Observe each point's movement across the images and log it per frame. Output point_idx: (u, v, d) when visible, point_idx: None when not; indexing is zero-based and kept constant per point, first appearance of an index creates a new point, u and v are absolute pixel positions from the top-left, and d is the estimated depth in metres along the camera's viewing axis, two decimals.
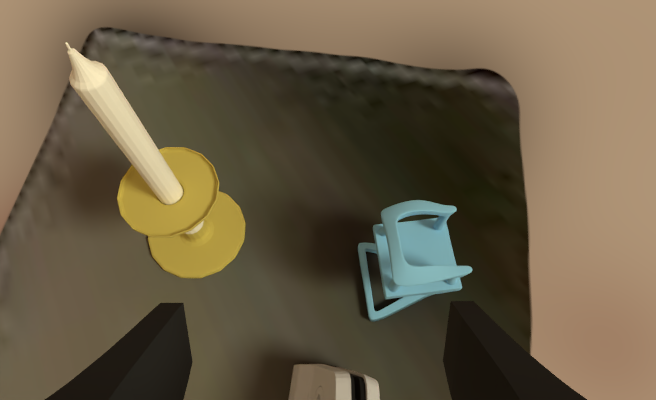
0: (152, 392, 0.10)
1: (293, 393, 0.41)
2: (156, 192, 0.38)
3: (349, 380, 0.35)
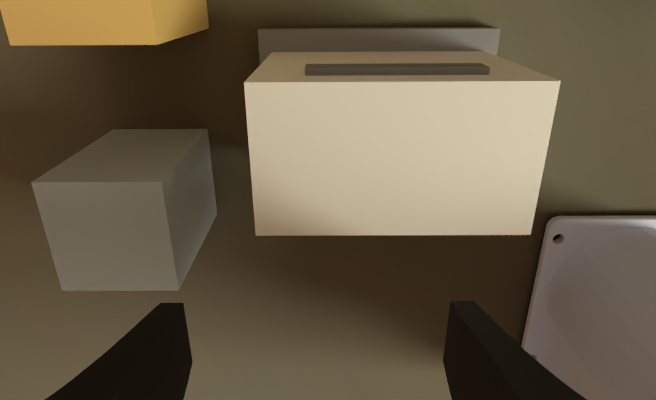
0: (152, 393, 0.10)
1: None
2: None
3: None
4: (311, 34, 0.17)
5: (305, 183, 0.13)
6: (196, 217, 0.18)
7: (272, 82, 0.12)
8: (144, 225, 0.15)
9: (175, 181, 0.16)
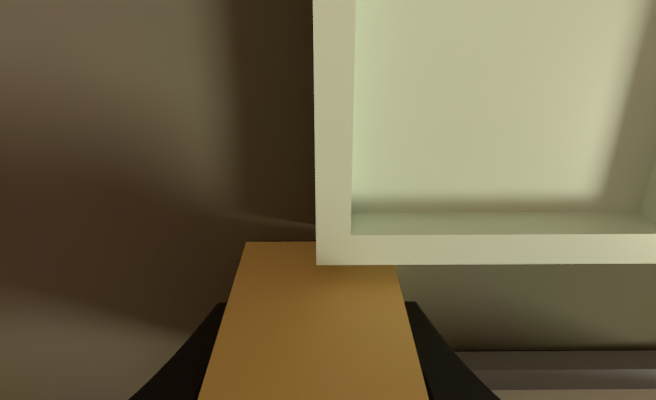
0: None
1: None
2: None
3: None
4: (517, 374, 0.14)
5: None
6: None
7: None
8: None
9: None
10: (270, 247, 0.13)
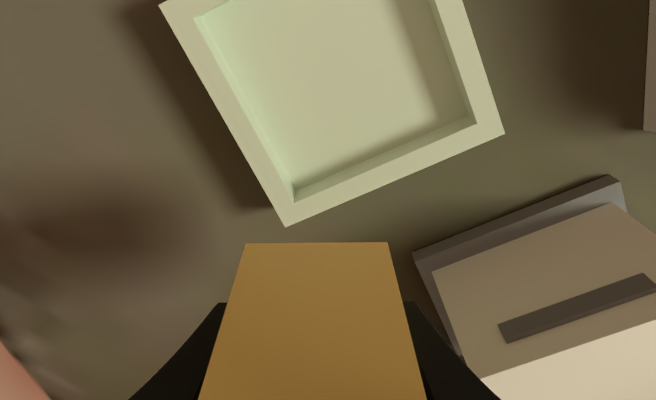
0: None
1: None
2: None
3: None
4: (458, 247, 0.20)
5: None
6: None
7: (494, 373, 0.15)
8: None
9: None
10: (270, 249, 0.13)
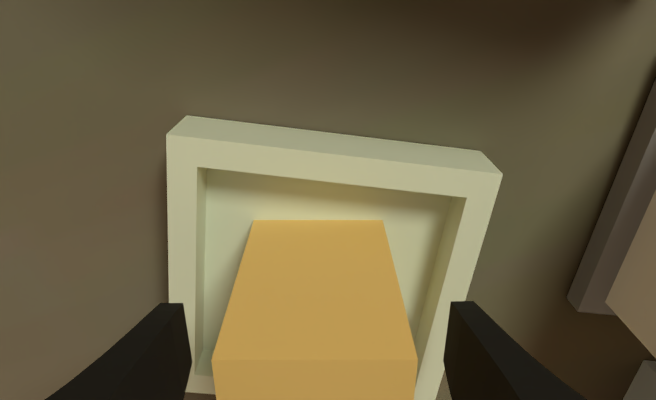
0: (152, 392, 0.10)
1: None
2: None
3: None
4: (603, 262, 0.15)
5: None
6: None
7: None
8: None
9: None
10: (275, 224, 0.14)
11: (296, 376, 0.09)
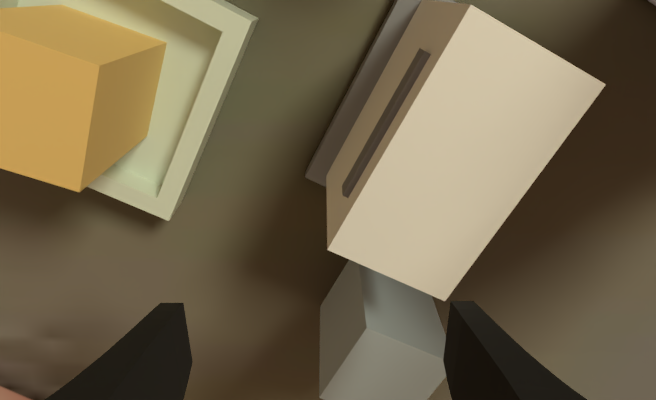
0: (152, 392, 0.10)
1: None
2: None
3: None
4: (328, 140, 0.20)
5: (426, 247, 0.15)
6: (413, 306, 0.21)
7: (338, 231, 0.14)
8: (390, 355, 0.18)
9: (374, 311, 0.19)
10: (77, 12, 0.17)
11: (7, 49, 0.13)
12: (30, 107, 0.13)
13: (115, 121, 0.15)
